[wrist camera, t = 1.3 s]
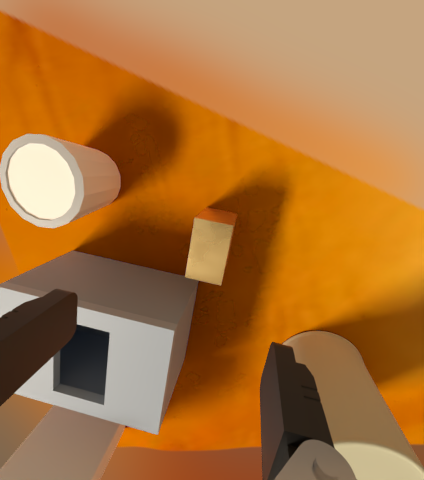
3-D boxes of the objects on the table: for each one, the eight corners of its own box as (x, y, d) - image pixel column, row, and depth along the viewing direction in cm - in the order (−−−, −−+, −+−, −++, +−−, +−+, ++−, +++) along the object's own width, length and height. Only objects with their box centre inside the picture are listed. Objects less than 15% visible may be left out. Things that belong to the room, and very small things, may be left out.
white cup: (81, 126, 25) (19, 111, 18) (140, 172, 25) (99, 174, 19) (50, 185, 27) (-16, 191, 20) (105, 226, 27) (57, 246, 21)
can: (267, 332, 28) (278, 447, 16) (362, 327, 26) (448, 452, 15) (276, 403, 30) (290, 549, 19) (364, 403, 28) (440, 564, 17)
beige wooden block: (237, 213, 25) (233, 225, 20) (227, 262, 26) (221, 285, 21) (206, 207, 25) (194, 217, 20) (198, 255, 27) (184, 277, 21)
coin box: (198, 279, 27) (174, 330, 19) (184, 358, 30) (157, 434, 22) (72, 250, 29) (-5, 286, 20) (70, 329, 31) (2, 389, 23)
